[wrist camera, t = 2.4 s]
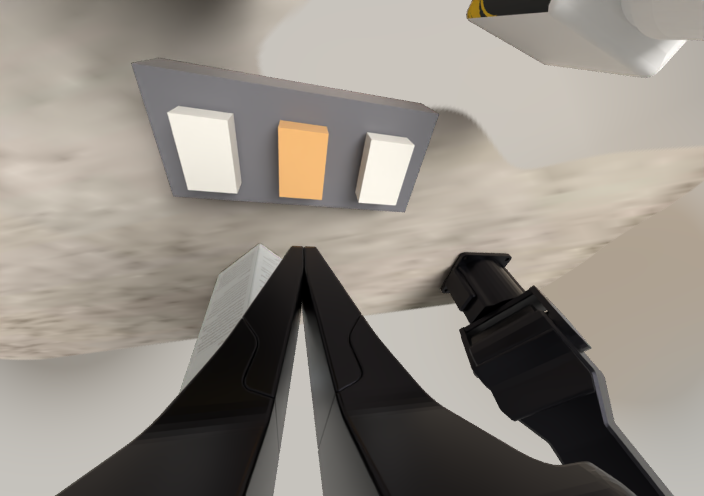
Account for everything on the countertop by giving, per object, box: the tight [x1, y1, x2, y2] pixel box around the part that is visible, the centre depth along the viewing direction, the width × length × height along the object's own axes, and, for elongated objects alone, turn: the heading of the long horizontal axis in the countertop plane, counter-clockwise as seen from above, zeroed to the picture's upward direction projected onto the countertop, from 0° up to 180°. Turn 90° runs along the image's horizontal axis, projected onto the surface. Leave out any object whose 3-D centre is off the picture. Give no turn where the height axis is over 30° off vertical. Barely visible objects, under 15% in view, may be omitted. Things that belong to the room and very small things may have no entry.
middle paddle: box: [278, 120, 329, 200], centre depth 15 cm, size 3×4×1 cm, turn 170°
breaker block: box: [131, 58, 439, 212], centre depth 17 cm, size 16×7×3 cm, turn 81°
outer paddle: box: [167, 106, 242, 194], centre depth 14 cm, size 3×4×1 cm, turn 170°
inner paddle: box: [355, 132, 415, 205], centre depth 16 cm, size 3×4×1 cm, turn 170°
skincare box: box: [179, 244, 282, 393], centre depth 21 cm, size 6×4×12 cm
